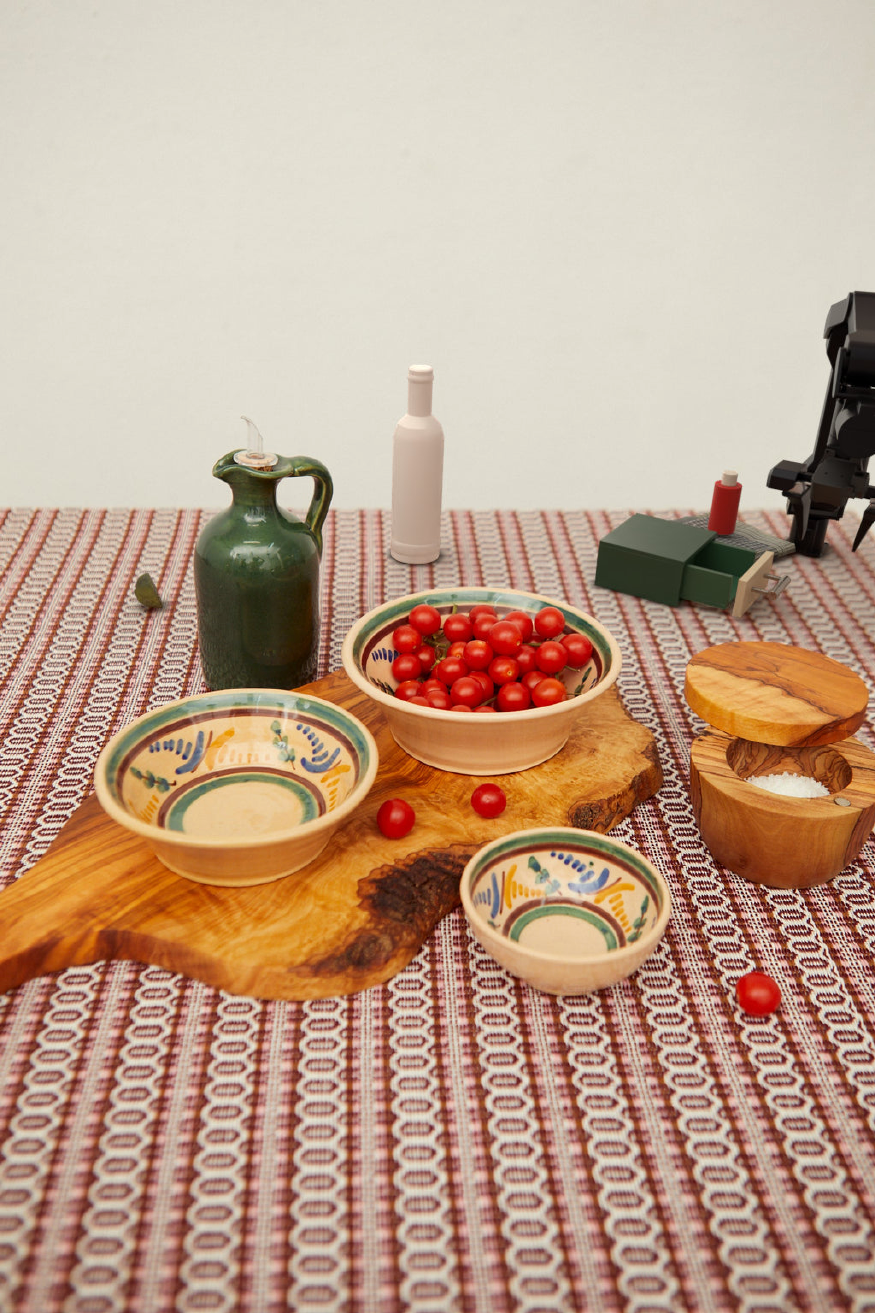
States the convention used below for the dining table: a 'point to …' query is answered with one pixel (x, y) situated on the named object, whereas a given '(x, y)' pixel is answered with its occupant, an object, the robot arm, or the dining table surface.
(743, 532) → the dish towel
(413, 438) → the bottle
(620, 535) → the dark green box
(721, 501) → the sauce bottle
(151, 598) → the lime
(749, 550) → the drawer
